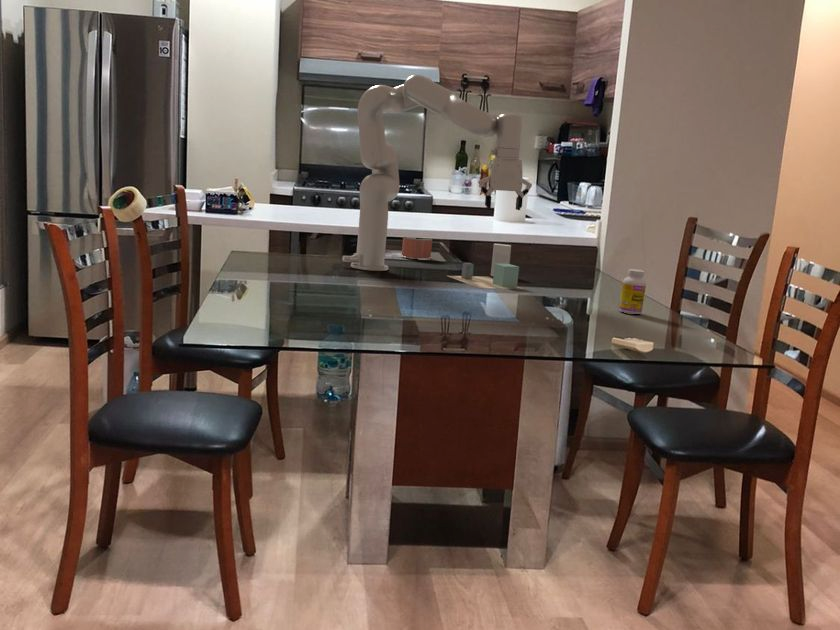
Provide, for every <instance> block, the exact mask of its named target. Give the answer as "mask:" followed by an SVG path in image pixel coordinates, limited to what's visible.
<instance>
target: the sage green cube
mask: <svg viewBox="0 0 840 630" xmlns="http://www.w3.org/2000/svg"><path fill="white" fill-rule="evenodd" d="M519 272H520V266H518V265H514V264H511V263H509V264H495V267H494V275H493V276H492V277H493V284H494V285H497V286H500V287H518V282H519V281H518V280H519Z"/></svg>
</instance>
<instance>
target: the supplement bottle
mask: <svg viewBox="0 0 840 630" xmlns="http://www.w3.org/2000/svg"><path fill="white" fill-rule="evenodd" d="M645 272H646V271H644V270H642V269H637V268H636V269H635V268H629V269H628V270H627V277H624V278H623V281H622V286H621V293H620V300H619V308H618V311H619V312H620V311H621V312H624V313H629V314H640V315H642V311H643V306H644V301H645V295H646V287H647V282H646V280H645V279H644V275H645ZM621 312H620V313H621ZM624 313H623V314H624ZM629 314H628V315H629Z"/></svg>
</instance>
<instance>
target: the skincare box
mask: <svg viewBox="0 0 840 630" xmlns="http://www.w3.org/2000/svg"><path fill="white" fill-rule="evenodd" d="M492 248H493V250H492V260H491V269H490V276H491V277H493V275H494V267H495V264H511V263H510V262H511V253H512V251H511V250H512V244H504V243H503V244H502V243H493V247H492Z"/></svg>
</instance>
